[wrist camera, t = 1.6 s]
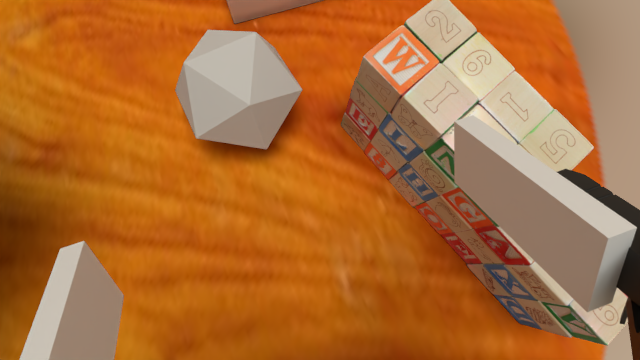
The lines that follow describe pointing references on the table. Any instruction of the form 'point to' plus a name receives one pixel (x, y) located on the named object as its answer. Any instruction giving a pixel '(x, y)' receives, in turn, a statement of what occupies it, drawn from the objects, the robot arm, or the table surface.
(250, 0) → the tray
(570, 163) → the stack of blocks
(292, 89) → the die
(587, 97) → the table surface
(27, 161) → the table surface
